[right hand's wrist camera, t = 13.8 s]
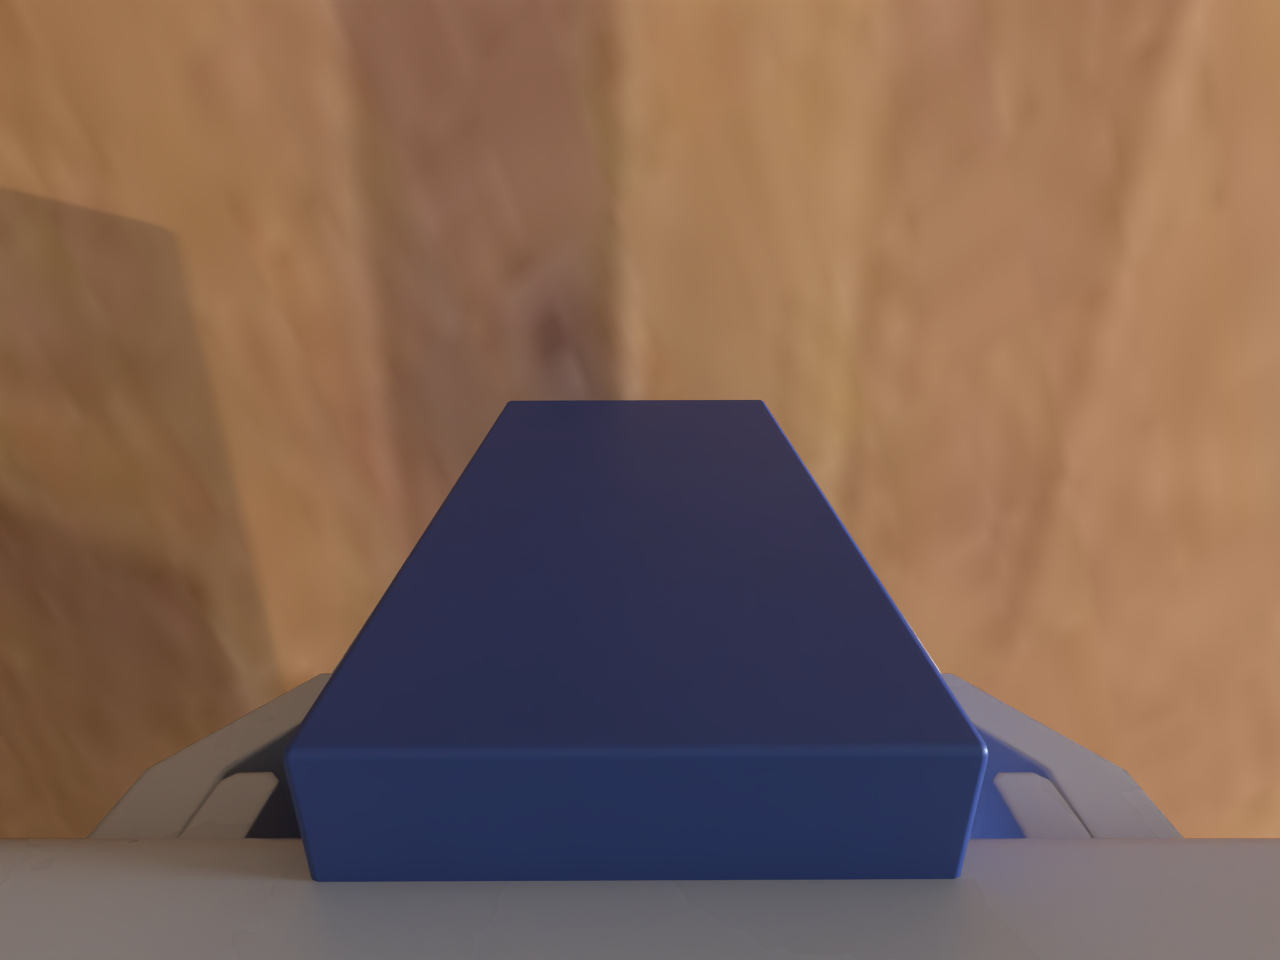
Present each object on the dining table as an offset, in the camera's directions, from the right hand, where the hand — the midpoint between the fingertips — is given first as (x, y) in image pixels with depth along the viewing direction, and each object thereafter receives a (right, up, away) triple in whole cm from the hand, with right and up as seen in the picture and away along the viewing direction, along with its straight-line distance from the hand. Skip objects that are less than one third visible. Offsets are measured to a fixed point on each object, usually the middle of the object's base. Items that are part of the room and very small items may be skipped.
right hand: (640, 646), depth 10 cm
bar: (0, -8, +7) cm, 11 cm away
